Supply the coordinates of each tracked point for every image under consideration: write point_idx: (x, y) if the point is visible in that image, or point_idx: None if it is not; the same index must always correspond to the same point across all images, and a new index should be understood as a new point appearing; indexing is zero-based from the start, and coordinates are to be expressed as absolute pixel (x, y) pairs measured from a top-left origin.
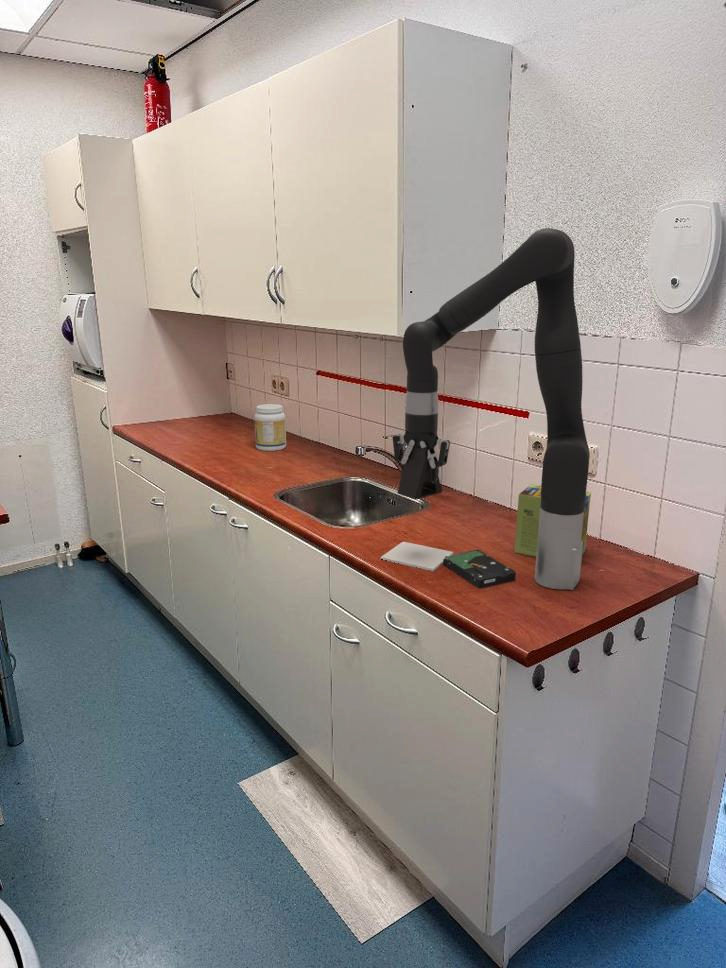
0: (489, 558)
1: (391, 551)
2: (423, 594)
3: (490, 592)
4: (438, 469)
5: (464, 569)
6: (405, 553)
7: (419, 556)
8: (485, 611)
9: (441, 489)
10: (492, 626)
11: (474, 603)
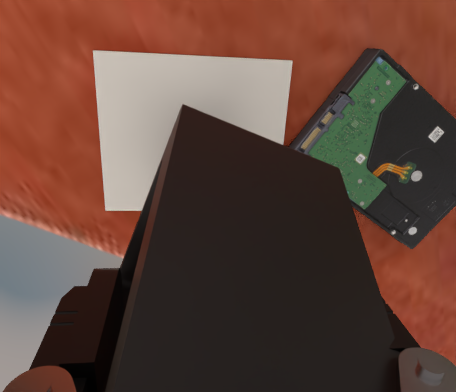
0: (423, 104)
1: (109, 155)
2: None
3: (426, 243)
4: (416, 344)
5: (366, 207)
6: (156, 148)
7: None
8: (424, 318)
9: (340, 177)
10: (441, 354)
11: (400, 301)
